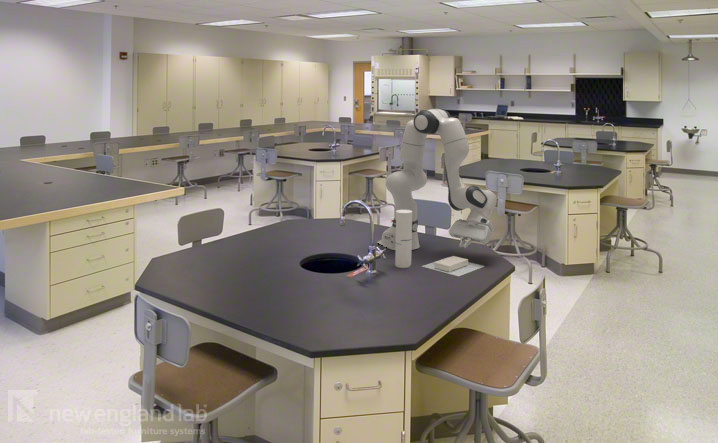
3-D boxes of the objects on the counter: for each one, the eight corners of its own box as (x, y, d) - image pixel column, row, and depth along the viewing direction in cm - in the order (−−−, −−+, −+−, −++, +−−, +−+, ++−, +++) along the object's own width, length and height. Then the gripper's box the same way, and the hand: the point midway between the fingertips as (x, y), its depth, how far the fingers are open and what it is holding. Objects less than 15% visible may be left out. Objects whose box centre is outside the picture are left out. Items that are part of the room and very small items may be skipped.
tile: (453, 261, 256) (434, 268, 247) (453, 255, 256) (434, 262, 246) (467, 265, 251) (449, 272, 241) (468, 259, 250) (449, 266, 241)
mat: (421, 267, 250) (421, 266, 250) (448, 258, 264) (448, 257, 264) (458, 278, 236) (458, 276, 236) (485, 267, 250) (485, 266, 250)
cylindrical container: (410, 268, 249) (411, 213, 244) (394, 267, 251) (395, 212, 245) (412, 263, 256) (413, 210, 251) (396, 262, 258) (397, 209, 252)
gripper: (454, 214, 262) (440, 238, 258) (492, 221, 248) (478, 247, 244) (459, 222, 266) (446, 246, 262) (497, 229, 252) (484, 255, 248)
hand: (462, 246), depth 253 cm, fingers closed
